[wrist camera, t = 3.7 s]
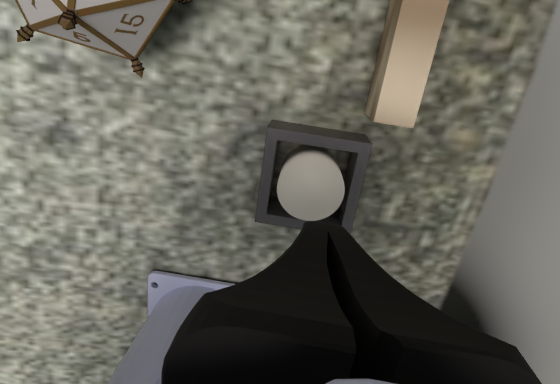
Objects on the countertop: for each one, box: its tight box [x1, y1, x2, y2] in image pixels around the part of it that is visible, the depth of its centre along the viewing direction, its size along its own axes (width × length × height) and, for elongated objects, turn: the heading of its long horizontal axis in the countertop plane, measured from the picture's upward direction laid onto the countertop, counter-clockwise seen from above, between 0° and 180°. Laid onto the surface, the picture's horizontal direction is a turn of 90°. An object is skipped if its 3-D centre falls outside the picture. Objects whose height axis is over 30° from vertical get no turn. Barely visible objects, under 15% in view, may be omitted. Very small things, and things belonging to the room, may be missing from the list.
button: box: [277, 145, 345, 221], centre depth 20 cm, size 4×4×3 cm
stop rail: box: [365, 0, 449, 128], centre depth 17 cm, size 10×2×3 cm, turn 172°
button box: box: [255, 120, 372, 234], centre depth 21 cm, size 6×6×2 cm
